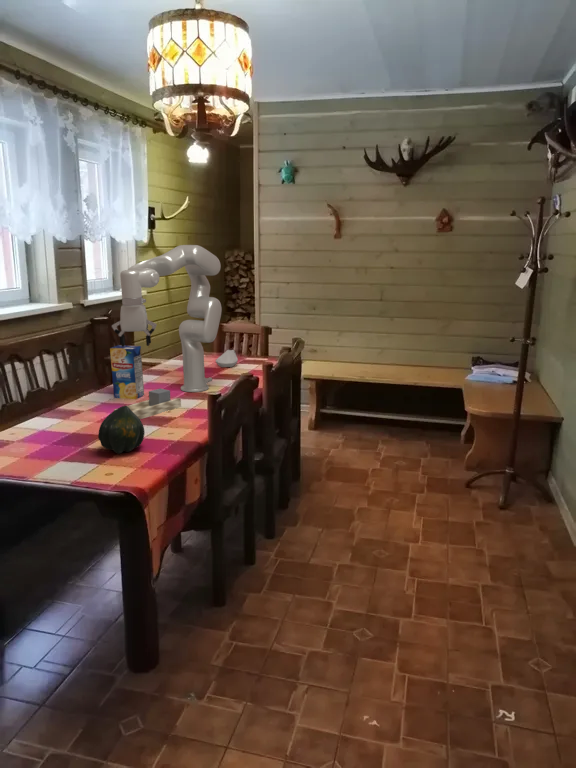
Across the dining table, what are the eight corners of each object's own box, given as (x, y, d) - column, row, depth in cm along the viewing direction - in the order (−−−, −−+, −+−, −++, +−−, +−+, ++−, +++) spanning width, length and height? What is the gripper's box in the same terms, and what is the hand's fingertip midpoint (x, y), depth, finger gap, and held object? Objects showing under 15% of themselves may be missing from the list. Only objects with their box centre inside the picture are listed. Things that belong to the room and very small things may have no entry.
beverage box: (136, 399, 260) (133, 349, 255) (113, 397, 263) (109, 348, 257) (144, 395, 266) (140, 346, 261) (121, 393, 269) (118, 345, 264)
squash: (92, 444, 188) (122, 405, 190) (87, 432, 202) (115, 396, 203) (129, 468, 194) (158, 430, 196) (122, 454, 208) (149, 419, 209)
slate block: (160, 402, 249) (160, 388, 248) (170, 404, 245) (170, 390, 244) (149, 405, 244) (148, 391, 243) (159, 408, 241) (158, 393, 239)
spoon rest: (236, 369, 317) (235, 356, 315) (213, 369, 317) (213, 355, 316) (242, 360, 339) (242, 347, 338) (222, 360, 340) (221, 347, 339)
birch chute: (165, 403, 253) (165, 395, 252) (181, 406, 248) (180, 398, 247) (114, 418, 233) (113, 409, 232) (129, 422, 228) (129, 413, 227)
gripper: (156, 300, 239) (159, 343, 244) (112, 301, 239) (115, 344, 243) (153, 302, 232) (156, 346, 236) (107, 303, 231) (111, 347, 236)
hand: (135, 345), depth 240 cm, fingers open, 9 cm apart
